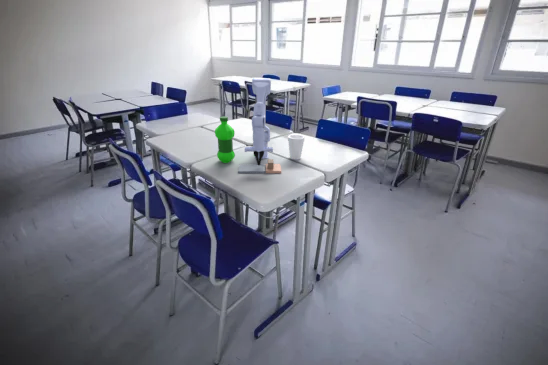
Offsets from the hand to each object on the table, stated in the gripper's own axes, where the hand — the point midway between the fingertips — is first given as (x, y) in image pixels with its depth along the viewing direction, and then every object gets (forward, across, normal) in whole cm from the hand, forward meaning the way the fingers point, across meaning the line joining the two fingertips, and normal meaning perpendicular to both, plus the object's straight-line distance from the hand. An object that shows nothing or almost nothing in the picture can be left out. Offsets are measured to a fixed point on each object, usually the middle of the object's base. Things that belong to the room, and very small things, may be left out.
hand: (258, 164), depth 149 cm
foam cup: (+3, +21, +18) cm, 28 cm away
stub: (+3, +8, 0) cm, 8 cm away
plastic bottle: (+3, -19, +12) cm, 22 cm away
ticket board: (+3, -4, 0) cm, 5 cm away
